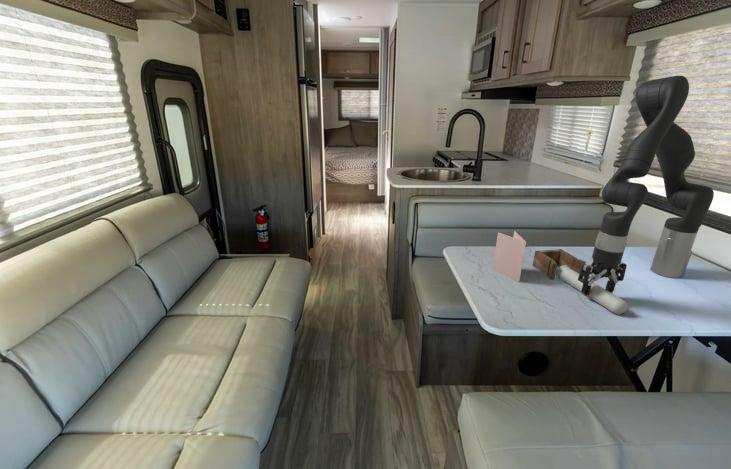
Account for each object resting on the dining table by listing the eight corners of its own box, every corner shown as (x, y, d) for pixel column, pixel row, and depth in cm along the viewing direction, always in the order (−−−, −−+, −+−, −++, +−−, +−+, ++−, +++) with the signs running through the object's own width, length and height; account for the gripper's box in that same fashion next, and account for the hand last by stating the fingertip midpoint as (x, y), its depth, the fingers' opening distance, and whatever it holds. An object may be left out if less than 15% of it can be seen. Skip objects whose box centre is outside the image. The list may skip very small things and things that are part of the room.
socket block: (560, 263, 139) (563, 248, 137) (583, 277, 128) (586, 262, 126) (530, 265, 137) (532, 251, 135) (550, 280, 126) (553, 264, 124)
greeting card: (521, 282, 124) (529, 242, 119) (500, 281, 125) (506, 241, 119) (510, 267, 135) (516, 230, 130) (490, 267, 135) (496, 230, 130)
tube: (635, 304, 104) (571, 266, 127) (622, 301, 103) (560, 263, 126) (625, 319, 106) (564, 279, 129) (613, 316, 104) (553, 276, 127)
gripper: (619, 240, 113) (606, 286, 119) (580, 243, 111) (568, 289, 116) (640, 250, 106) (625, 297, 112) (598, 252, 104) (585, 301, 110)
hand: (596, 293), depth 114 cm, fingers open, 8 cm apart
